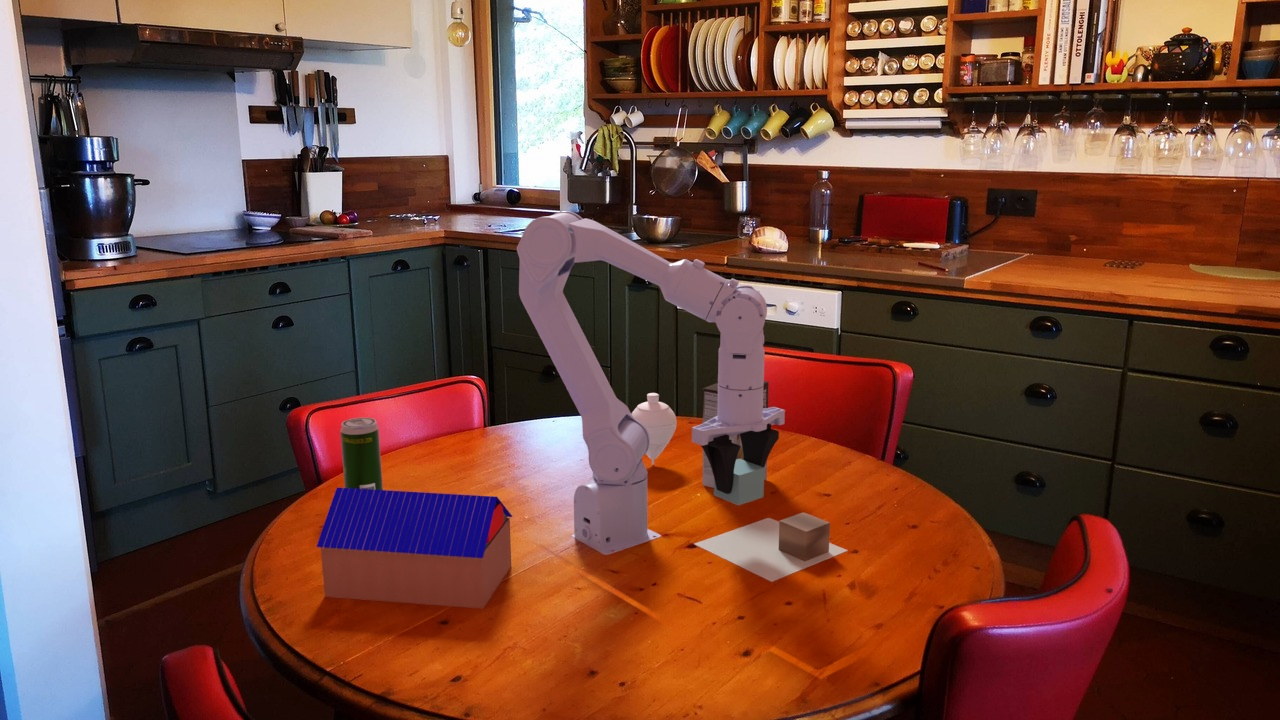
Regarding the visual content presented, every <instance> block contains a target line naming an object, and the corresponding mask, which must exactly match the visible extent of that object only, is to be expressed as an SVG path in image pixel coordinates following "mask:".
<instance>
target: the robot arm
mask: <svg viewBox="0 0 1280 720" xmlns="http://www.w3.org/2000/svg"><path fill="white" fill-rule="evenodd" d="M516 252H517V255H518V257H519V271H518V272H519V273H518V274H519V275H518V277H519V278H518V296H519V298H520V301H521V302H522V305H523V307H524V309H525V310H526V312H527V314H528V316H529V318H530V320H531V322H532V324H533V326H534V327H535V330H536V331H537V334H538V336H539V337H540V340H541V341H542V343H543V345H544V347H545V350H546V351H547V353H548V356H550V359H551V361H552V363H553V365H554V366H555V369H556V370H557V372H558V374H559V376H560V378H561V381H562V382H563V384H564V386H565V387H566V390H567V392H568V394H569V396H570V398H571V400H572V402H573V403H574V405H575V407H576V409H577V411H578V413H579V415H580V417H581V424H582V438H583V440H584V443H585V445H586V448H587V450H588V451H587V452H588V464H589V467H590V469H591V472H592V476H591V477H590V478H589V480H587V481H586V482H584V483H583V484H581V485H579V486H577V488H576V489H575V491H574V496H573V523H574V524H573V525H574V526H573V527H574V528H573V530H574V534H571V538H574V539H575V540H577V541H579V542H581V543H583V544H584V545H586V546H588V547H589V548H592V549H593V550H595V551H597V552H598V553H600V554H602V555H606V556H607V555H612V554H614V553H617V552H620V551H623V550H625V549H626V550H627V549H630V548H632V547H635V546H638V545H640V544H643V543H647V542H650V541H652V540H653V541H654V540H656V539H658V538H661V537H662V535H661V534H659V533H658V532H655V531H653V530H651V529H649V528H648V469H647V467H646V466H645V464H644V461H643V457H644V456H645V455H646V452H647V451H648V448H649V444H650V438H649V434H648V431H647V429H646V428H645V426H644V425H643V424H642V423H641V422H639V421H638V420H637V419H635V418H634V417H633V415H632V412H631V411H630V409H629V407H628V406H627V405H626V404H625V403H624V402H623V401H621V400H620V399H618V398H617V396H616V394H615V392H614V390H613V388H612V387H611V385H610V382H609V381H608V378H607V377H606V375H605V373H604V371H603V369H602V366H601V365H600V362H599V361H598V358H597V357H596V355H595V353H594V351H593V349H592V347H591V345H590V343H589V341H588V339H587V337H586V335H585V333H584V332H583V329H582V328H581V325H580V323H579V322H578V319H577V318H576V316H575V313H574V312H573V309H572V308H571V306H570V304H569V302H568V300H567V298H566V295H565V294H564V288H565V285H566V284H567V280H568V278H569V275H570V273H571V269H572V268H573V266H574V265H575V263H586V262H596V261H602V262H606V263H608V264H610V265H612V266H614V267H616V268H618V269H621V270H623V271H625V272H627V273H630V274H632V275H634V276H636V277H639V278H640V279H643V280H645V281H648V282H650V283H651V284H654V285H656V286H658V287H659V289H660V290H661V293H662V296H663V298H664V300H665V301H666V302H668V303H670V304H672V305H674V306H676V307H678V308H680V309H682V310H683V311H686V312H687V313H689V314H692V315H694V316H696V317H698V318H700V319H702V320H703V321H706V322H708V323H715V324H716V327H717V329H718V331H719V332H720V337H719V338H720V341H719V343H720V345H719V348H718V363H717V364H718V366H717V369H718V370H717V371H718V372H717V373H718V374H717V383H718V410H717V416H716V417H714V418H712V419H710V420H708V421H706V422H704V423H703V422H702V423H701V424H699V425H695V426H692V427H691V442H692V443H694V444H697V445H699V446H700V447H701V448H702V451H703V450H704V452H705V454H706V456H707V458H708V460H709V463H710V465H711V468H712V472H713V475H714V479H715V484H716V488H717V490H718V491H721V492H723V493H726V494H729V493H731V491H732V487H733V477H734V467H735V462H736V458H737V455H738V452H739V450H740V448H741V446H740V445H737V444H734V443H731V442H732V440H729V436H732V435H736V434H740V438H741V442H742V448H743V457H744V460H745V461H747V462H750V463H753V464H756V465H758V466H761V467H765V464H766V461H767V462H768V458H769V456H770V454H771V451H772V450H773V448H774V446H775V444H776V443H777V442H778V441H779V438H780V432H779V430H777V429H774V428H772V426H773V425H776V426H782V425H785V418H786V417H785V412H786V410H785V409H783V408H779V407H776V406H771V407H768V408H765V409H763V385H764V381H765V354H766V353H765V348H764V344H765V334H764V326H765V324H766V323H765V322H766V318H767V314H768V307H767V302H766V300H765V298H764V296H763V295H762V294H761V292H759V291H758V290H756V289H755V288H754V287H753V286H752V285H746V284H744V285H739V283H740V281H739V280H737V279H735V278H731V279H730V280H729V279H726V278H725V277H723V276H721V275H719V274H717V273H714V272H713V271H710V270H709V269H707V268H705V265H706V264H705V262H704V261H702V260H699V259H698V258H696V259H694V260H693V261H690V260H688V259H686V258H685V259H681V260H678V261H675V262H670V261H668V260H667V259H665V258H663V257H661V256H659V255H657V254H655V253H654V252H653V251H650V250H648V249H646V248H645V247H643V246H642V245H639V244H638V243H636V242H634V241H633V240H630V239H629V238H627V237H625V236H623V235H622V234H620V233H618V232H616V231H614V230H612V229H611V228H610V227H609V228H608V227H607V226H605V225H603V224H602V223H599V222H598V221H595V220H593V219H590V218H583V217H581V216H580V215H579V214H577V213H575V212H573V211H569V210H564V211H558V212H555V213H554V214H552V215H548V216H540V217H537V218H534V219H533V220H532V221H530V223H529V224H527V226H526V227H525V229H524V232H523V233H522V235H521V238H520V240H519V242H518V244H517V247H516Z"/></svg>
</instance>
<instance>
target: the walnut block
mask: <svg viewBox="0 0 1280 720" xmlns="http://www.w3.org/2000/svg"><path fill="white" fill-rule="evenodd" d="M778 522H779V550H780V551H782V552H785V553H787V554H789V555H791V556H794V557H796V558H798V559H800V560H803V561H808V560H810V559H813V558H815V557H817V556H820V555H822V554H825V553H827V552H829V543H830V534H831V532H830V531H831V523H830V522H829V521H826V520H824V519H821V518H820V517H816V516H814V515H812V514H809V513H807V512H804V511H803V512H801V513H796V514H794V515H792V516H789V517H786V518H783V519H781V520H778Z"/></svg>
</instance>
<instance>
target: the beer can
mask: <svg viewBox="0 0 1280 720" xmlns="http://www.w3.org/2000/svg"><path fill="white" fill-rule="evenodd" d="M379 429H380V428H379V426H378V424H377V420H376V418H372V417H354V418H350V419H346V420H344V421H342V422H341V428H340V429H339V430H340V431H339V432H340V433H339V435H340V444H341V447H340V448H341V458H342V467H343V469H342V470H343V481H344V482H343V483H344V488H354V489H372V490H384V487H383V473H382V459H381V445H380V444H381V443H380V431H379Z"/></svg>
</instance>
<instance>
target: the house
mask: <svg viewBox="0 0 1280 720" xmlns="http://www.w3.org/2000/svg"><path fill="white" fill-rule="evenodd" d="M511 518H514V517H513V515H512V514H511V513H510V511H509V510H508V509H507V507H506V506H505V505H504V503H503V502H502V501H501V500H500V498H499V497H498V496H493V495H492V496H491V495H473V494H456V493H455V494H454V493H438V492H423V491H422V492H419V491H403V490H387V489H386V490H385V489H383V490H372V489H354V488H345V487H336V489H335V491H334V495H333V497H332V501H331V504H330V507H329V509H328V512H327V515H326V518H325V521H324V524H323V527H322V529H321V532H320V535H319V539H318V541H317V545H316V548H320V555H321V556H320V557H321V568H322V578H323V590H324V591H323V592H324V598H337V599H349V600H350V599H352V600H361V601H362V600H363V601H364V600H365V601H376V602H377V601H378V602H390V603H403V604H413V605H414V604H415V605H428V606H429V605H431V606H445V607H456V608H469V609H470V608H471V609H482V610H484V608H485V607H486V606H487V604H488V602H489V601H490V599H491V598H492V596H493V595H494V593H495V591H496V590H497V588H498V587H499V585H500V584H501V582H502V581H503V580H504V578H505V576H506V575H507V573H508V571H509V570H510V569H511V568H512V545H511Z"/></svg>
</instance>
